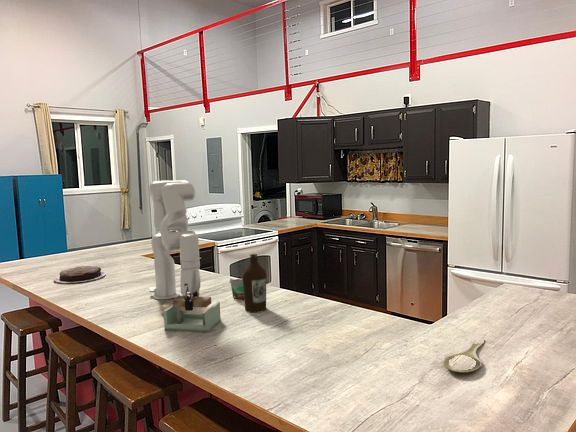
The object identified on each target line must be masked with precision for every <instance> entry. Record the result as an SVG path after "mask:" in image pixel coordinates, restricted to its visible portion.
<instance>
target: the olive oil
mask: <svg viewBox="0 0 576 432" xmlns="http://www.w3.org/2000/svg"><path fill="white" fill-rule="evenodd" d="M258 261H259V258H258V254H257V253H250V254H249V264H248V265H247V266H245V269H244V270H243V271H242V277H241V278H243V288H244V300H243V301H244V310H245V312H247V313H261V312H264V311H266V310H267V272H266V270H265V268H264V267H263V266H262V265H261V264H260V263H259V262H258Z"/></svg>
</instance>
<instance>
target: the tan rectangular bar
mask: <svg viewBox="0 0 576 432" xmlns="http://www.w3.org/2000/svg"><path fill="white" fill-rule="evenodd" d="M171 305H172V304H167V303H166V304H162V305H161V315H162V316H164V310H166V309H167V308H169V307H170V306H171ZM181 308H182V310H183V313H187V311H185V307H181Z"/></svg>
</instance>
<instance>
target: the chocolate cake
mask: <svg viewBox="0 0 576 432" xmlns="http://www.w3.org/2000/svg"><path fill="white" fill-rule="evenodd" d="M105 276H106V272H105V271H102V268H101V267H100V266H97V265H96V266H91V265H81V266H76V267H73V268H71V267H70V268H68V269H64V270H61V271H60V272H59V275H58V276H56V277H54V278H53V281H54V282H55V284H60V285H61V284H63V285H64V284H65V285H72V284H84V283H87V282H95V281H97V280H101V279H103V278H104V277H105Z"/></svg>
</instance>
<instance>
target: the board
mask: <svg viewBox="0 0 576 432" xmlns="http://www.w3.org/2000/svg"><path fill="white" fill-rule="evenodd" d="M188 296H189V298H190V295H188ZM192 301H193V308H202V309H203V308H205V309H206V308H207V307H209V306H210V305H211V304H212V297H211V296H199V297H197V296H192ZM172 305H173V307H185V301H184V298H183V296H182V295H179V296H178V297H175V298H173V299H172Z"/></svg>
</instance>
